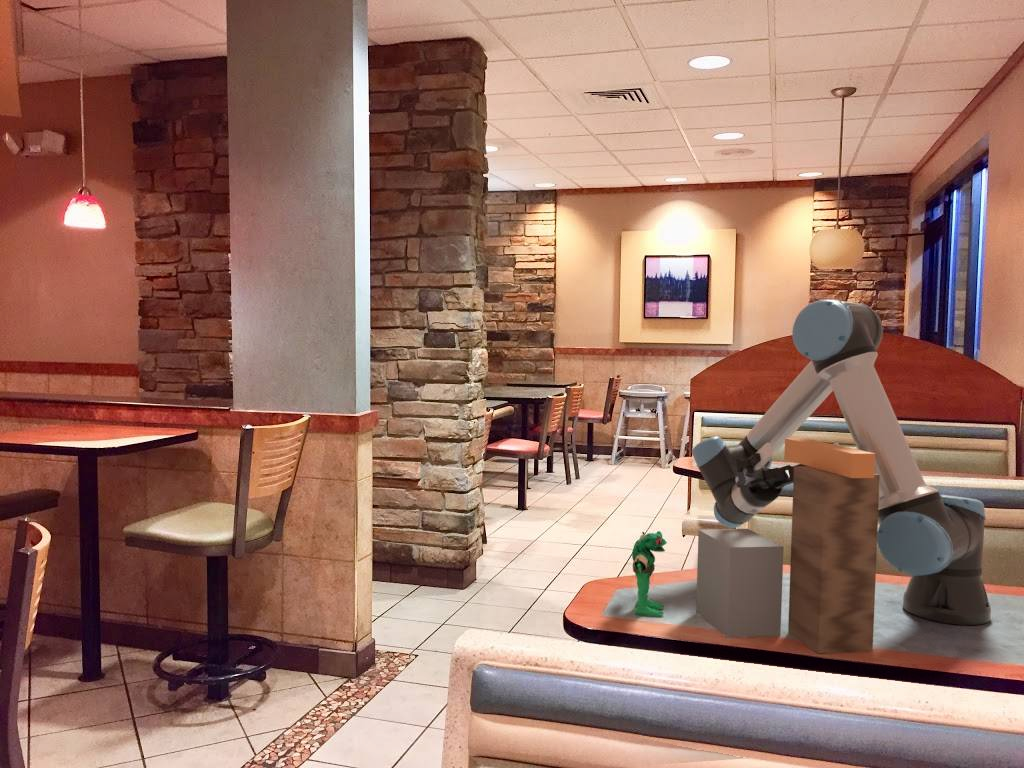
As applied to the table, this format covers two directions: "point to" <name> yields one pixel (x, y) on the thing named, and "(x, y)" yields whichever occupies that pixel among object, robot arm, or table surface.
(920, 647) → the table surface
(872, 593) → the post
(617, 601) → the table surface
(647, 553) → the toy
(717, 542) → the grey upright cuboid
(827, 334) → the robot arm
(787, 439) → the orange rectangular bar
